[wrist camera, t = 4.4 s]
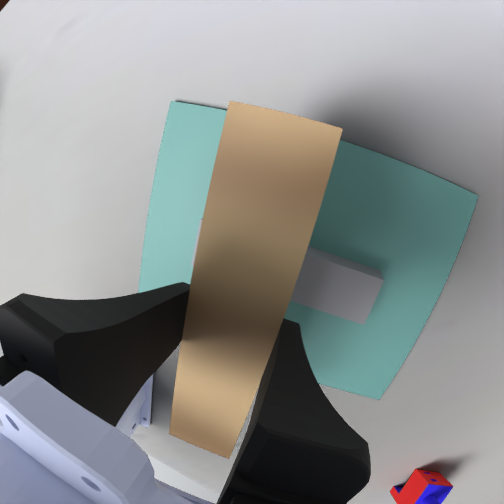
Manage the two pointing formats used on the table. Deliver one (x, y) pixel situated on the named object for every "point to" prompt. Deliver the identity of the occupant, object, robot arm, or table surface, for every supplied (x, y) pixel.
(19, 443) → the robot arm
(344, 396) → the table surface
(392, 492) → the red blue dreidel
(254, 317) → the bronze bar
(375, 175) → the board
